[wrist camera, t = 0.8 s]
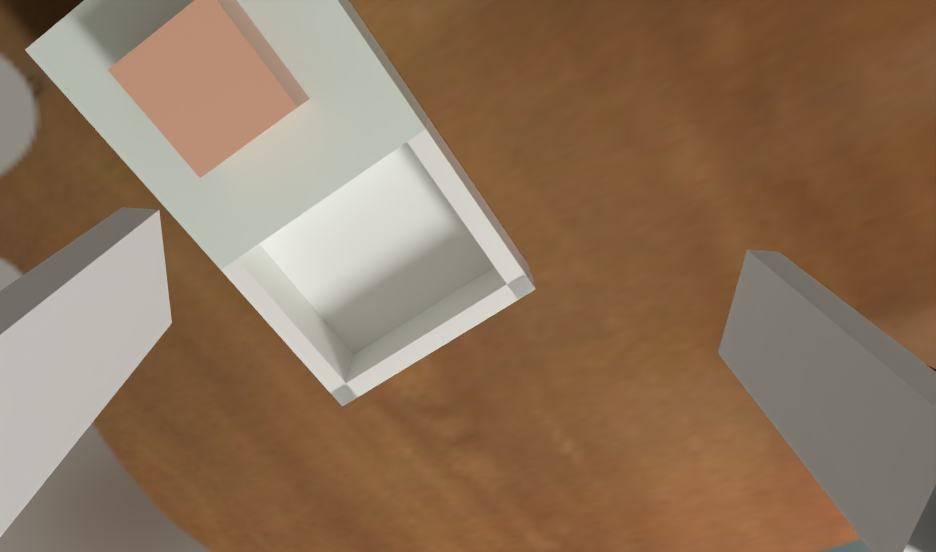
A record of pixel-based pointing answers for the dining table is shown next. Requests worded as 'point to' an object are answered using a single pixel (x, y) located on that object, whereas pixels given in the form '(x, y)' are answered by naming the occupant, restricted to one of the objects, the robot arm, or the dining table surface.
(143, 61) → the tile
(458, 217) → the box
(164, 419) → the dining table surface
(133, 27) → the white flat block
